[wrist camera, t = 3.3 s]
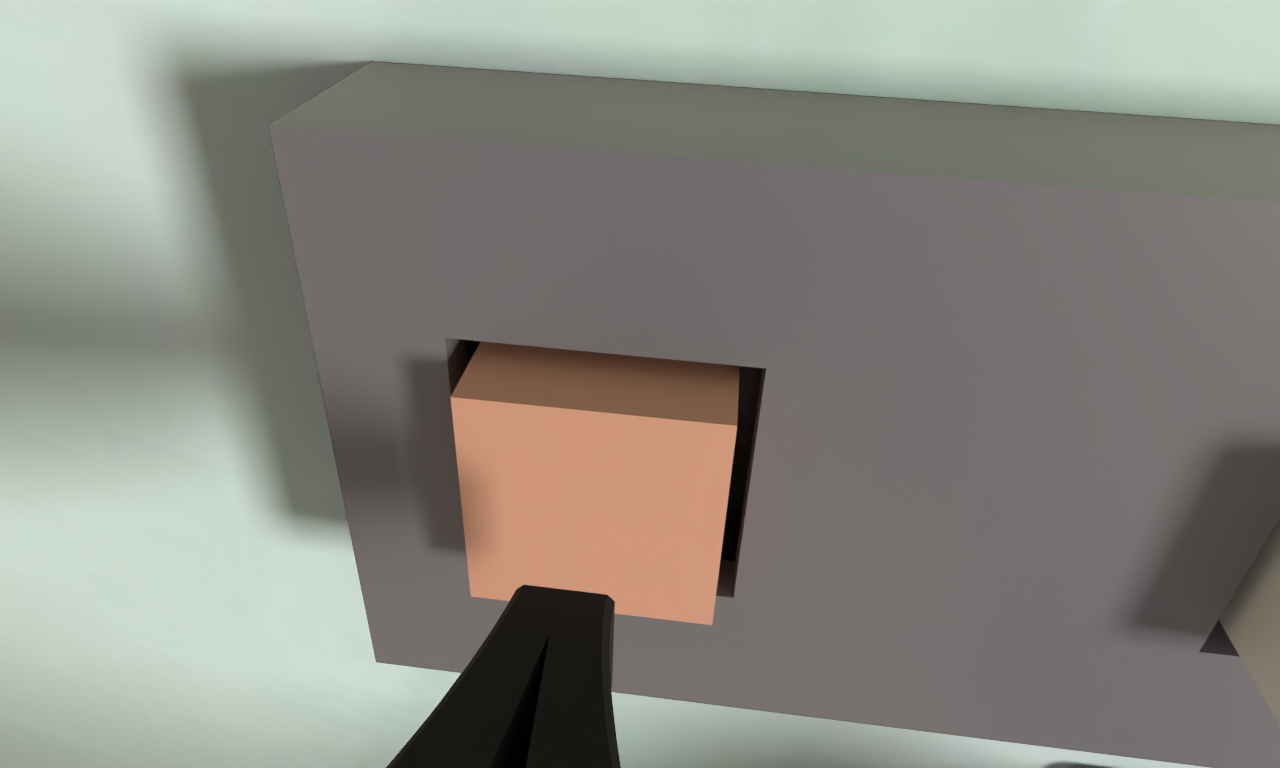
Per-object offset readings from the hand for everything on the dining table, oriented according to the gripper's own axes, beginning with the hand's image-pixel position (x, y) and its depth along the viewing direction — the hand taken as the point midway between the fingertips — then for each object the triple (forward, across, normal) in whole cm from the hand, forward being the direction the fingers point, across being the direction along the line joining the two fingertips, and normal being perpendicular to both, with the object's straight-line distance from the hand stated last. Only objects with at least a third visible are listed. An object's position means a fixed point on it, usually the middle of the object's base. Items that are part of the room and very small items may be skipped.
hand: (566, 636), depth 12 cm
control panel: (+8, -7, 0) cm, 10 cm away
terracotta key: (+5, 0, 0) cm, 5 cm away
